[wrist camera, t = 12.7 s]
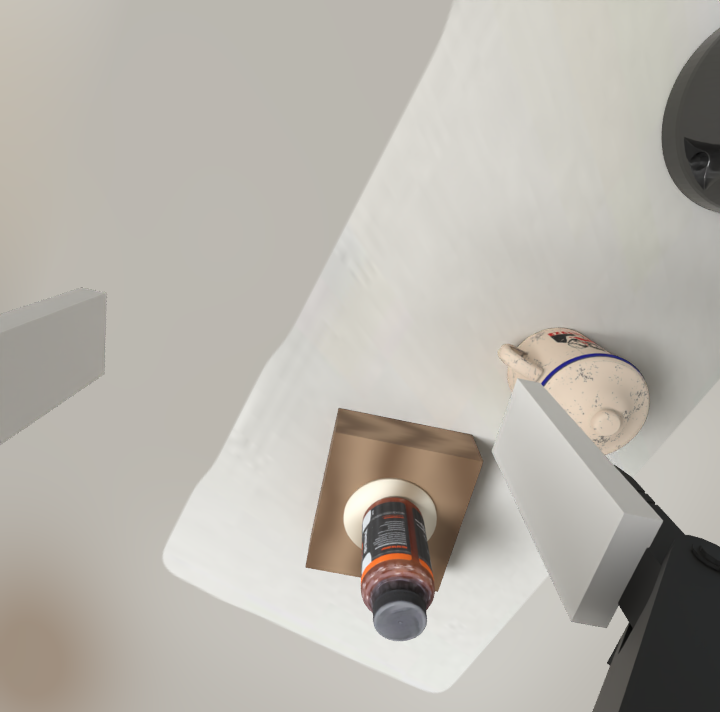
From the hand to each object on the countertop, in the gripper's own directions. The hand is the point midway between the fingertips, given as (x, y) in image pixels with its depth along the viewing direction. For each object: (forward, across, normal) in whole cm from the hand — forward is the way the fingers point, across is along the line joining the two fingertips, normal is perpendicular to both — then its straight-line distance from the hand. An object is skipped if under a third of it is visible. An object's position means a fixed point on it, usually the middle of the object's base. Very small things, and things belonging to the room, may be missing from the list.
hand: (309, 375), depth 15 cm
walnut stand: (+29, +9, -23) cm, 38 cm away
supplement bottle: (+24, +9, -23) cm, 34 cm away
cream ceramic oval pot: (+29, +20, -6) cm, 36 cm away
